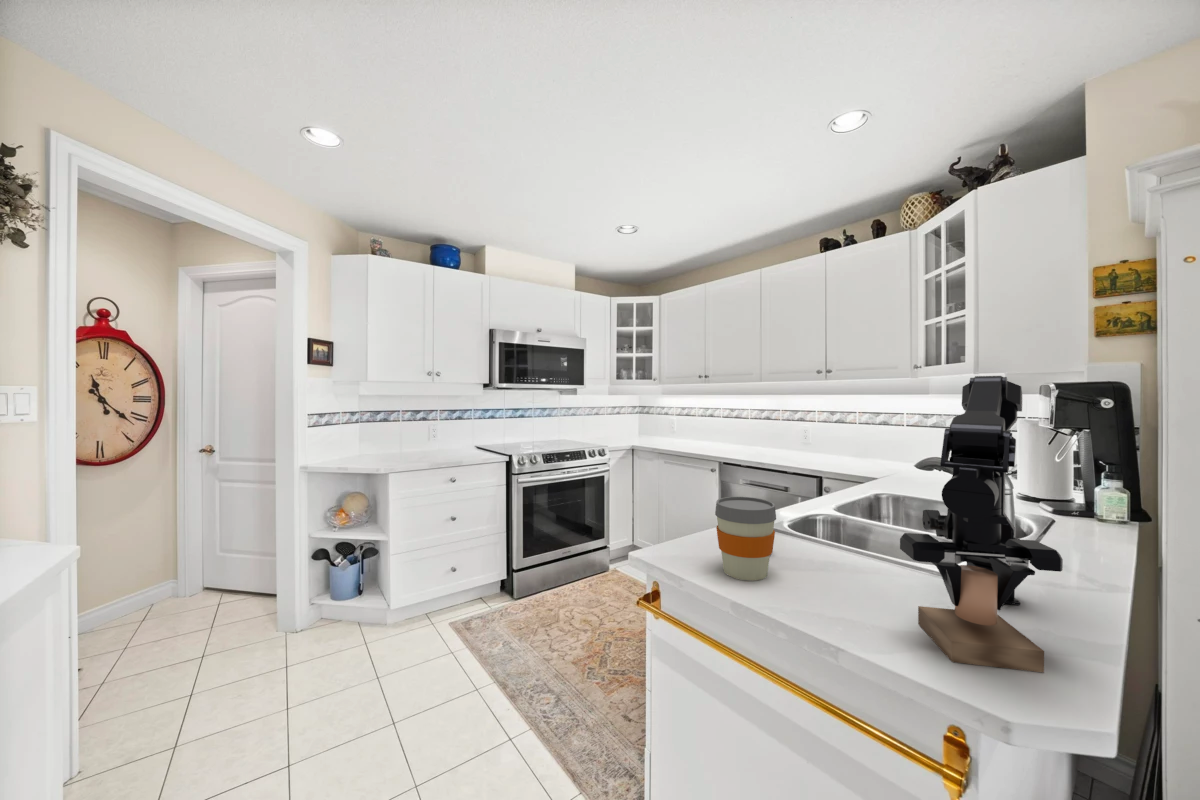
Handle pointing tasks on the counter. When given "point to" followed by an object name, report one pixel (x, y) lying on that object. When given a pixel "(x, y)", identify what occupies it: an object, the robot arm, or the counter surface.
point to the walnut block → (980, 641)
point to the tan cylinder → (978, 595)
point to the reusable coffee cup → (745, 536)
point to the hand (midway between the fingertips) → (975, 606)
